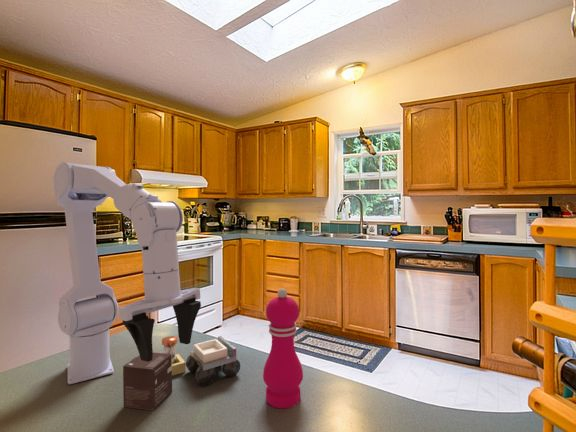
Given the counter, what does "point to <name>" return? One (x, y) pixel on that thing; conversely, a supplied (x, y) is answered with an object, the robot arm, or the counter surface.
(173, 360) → the pin
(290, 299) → the pepper mill
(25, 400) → the counter surface
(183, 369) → the collar
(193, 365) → the trolley
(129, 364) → the box
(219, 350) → the tray
